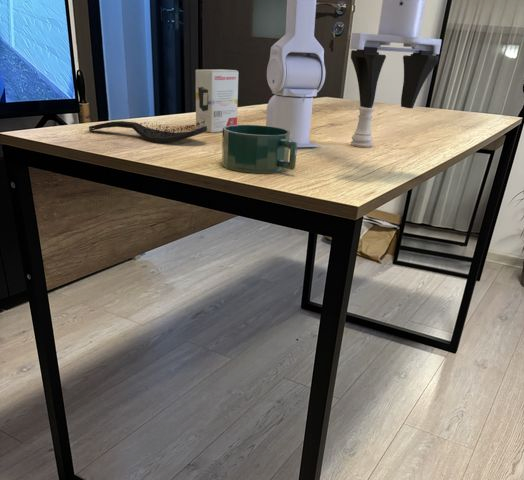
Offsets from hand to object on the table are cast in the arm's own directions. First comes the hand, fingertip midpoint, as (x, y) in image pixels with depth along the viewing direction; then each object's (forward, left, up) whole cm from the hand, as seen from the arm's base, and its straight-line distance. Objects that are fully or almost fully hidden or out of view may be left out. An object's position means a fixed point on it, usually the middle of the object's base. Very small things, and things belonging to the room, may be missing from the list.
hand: (386, 107), depth 80 cm
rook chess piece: (-25, +15, -10) cm, 31 cm away
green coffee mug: (-9, -16, -10) cm, 21 cm away
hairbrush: (-39, -26, -10) cm, 48 cm away
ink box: (-47, -8, -10) cm, 49 cm away
